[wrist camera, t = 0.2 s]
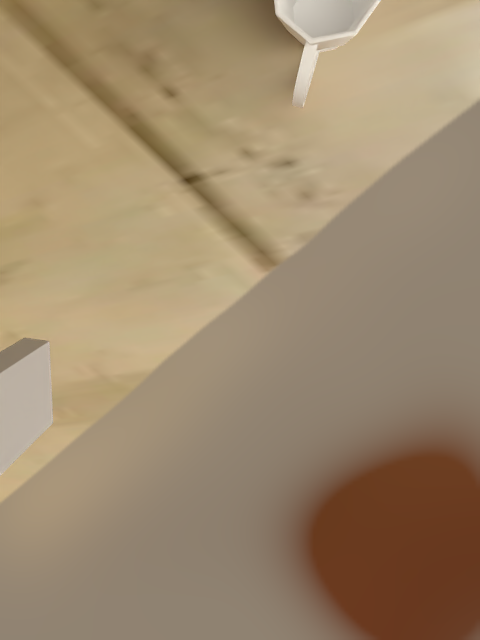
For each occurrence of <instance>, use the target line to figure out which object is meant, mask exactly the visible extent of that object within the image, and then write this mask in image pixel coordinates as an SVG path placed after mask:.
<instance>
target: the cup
mask: <svg viewBox="0 0 480 640" xmlns="http://www.w3.org/2000/svg"><path fill="white" fill-rule="evenodd" d="M380 1H381V0H274V4H275V14H276V16H277V17H278V19H279V20H280V21H281V22H282V23H283V25H284V26H285V28H286V29H287V31H288V32H289V33H291V34H292V35H293V36H294V37H296V39H297V40H298V41H299V42H300V43H302V44H303V45H304V46H305V47H304V50H303V54H302V58H301V62H300V66H299V70H298V75H297V79H296V84H295V89H294V94H293V101H292V106H296V107H300V108H303V106H304V103H305V100H306V97H307V93H308V90H309V86H310V83H311V80H312V76H313V73H314V69H315V66H316V62H317V58H318V55H319V52H324V51H329V50H334V49H337V47H338V46H342V45H345V44H346V43H347V42H348V41H349V40H350V39H352V38H353V37H354V36H355V35H356V34H357V33H358V32H359V30H360V29H361V27H362V26H363V25H364V23H365V22H366V20H367V19H368V18H369V16H370V15H371V13H372V12H373V11H374V9H375V8H376V6H377V5H378V3H379V2H380Z"/></svg>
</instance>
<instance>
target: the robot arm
mask: <svg viewBox="0 0 480 640" xmlns="http://www.w3.org/2000/svg"><path fill="white" fill-rule="evenodd" d="M52 424H53V411H52V390H51V368H50V346H49V341H45V340H38V339H31V338H23V339H22V340H20V341H18V342H16V343H15V344H13V345H11V346H10V347H8V348H6V349H4V350H3V351H1V352H0V475H1V474H2V473H3V472H4V471H5V470H6V469H7V468H8V467H9V466H10V465H11V464H12V463H13V462H14V461H15V460H16V459H17V458H18V457H19V456H20V455H21V454H22V453H23V452H24V451H25V450H26V449H27V448H28V447H29V446H30V445H31V444H32V443H33V442H34V441H35V440H36V439H37V438H38V437H39V436H40V435H41V434H42V433H43V432H44V431H45V430H46V429H47V428H48V427H50V426H51V425H52Z"/></svg>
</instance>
